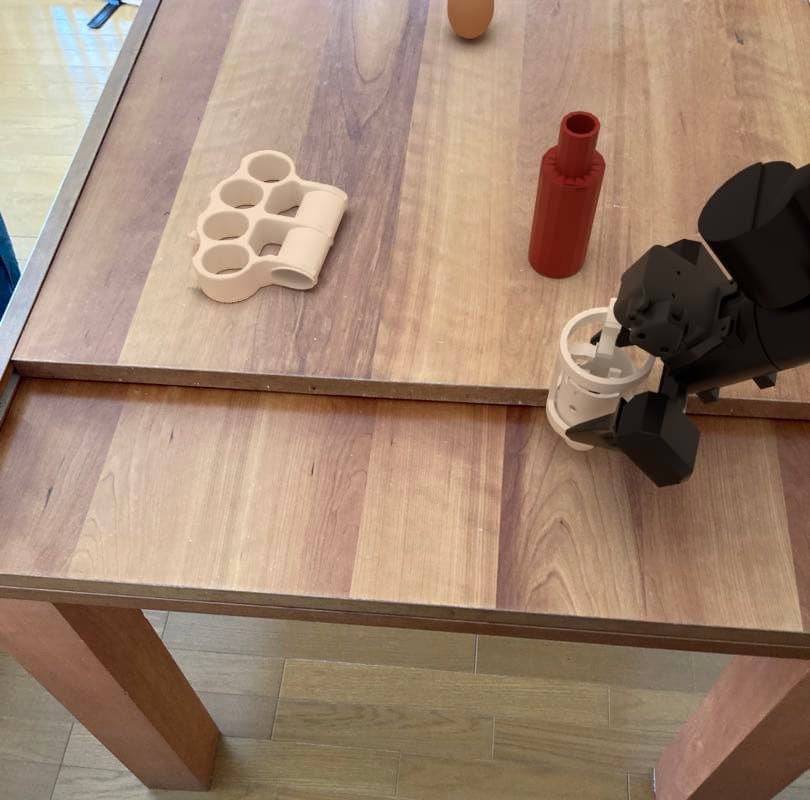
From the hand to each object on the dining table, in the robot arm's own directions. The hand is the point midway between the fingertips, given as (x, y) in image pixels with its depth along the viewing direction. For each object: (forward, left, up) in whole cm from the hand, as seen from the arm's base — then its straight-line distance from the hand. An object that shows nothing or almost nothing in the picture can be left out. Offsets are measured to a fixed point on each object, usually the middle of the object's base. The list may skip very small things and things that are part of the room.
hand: (580, 388), depth 65 cm
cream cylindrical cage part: (-1, +1, -8) cm, 8 cm away
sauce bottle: (-4, -21, -8) cm, 23 cm away
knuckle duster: (+24, -29, -8) cm, 39 cm away
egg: (-3, -57, -8) cm, 58 cm away
